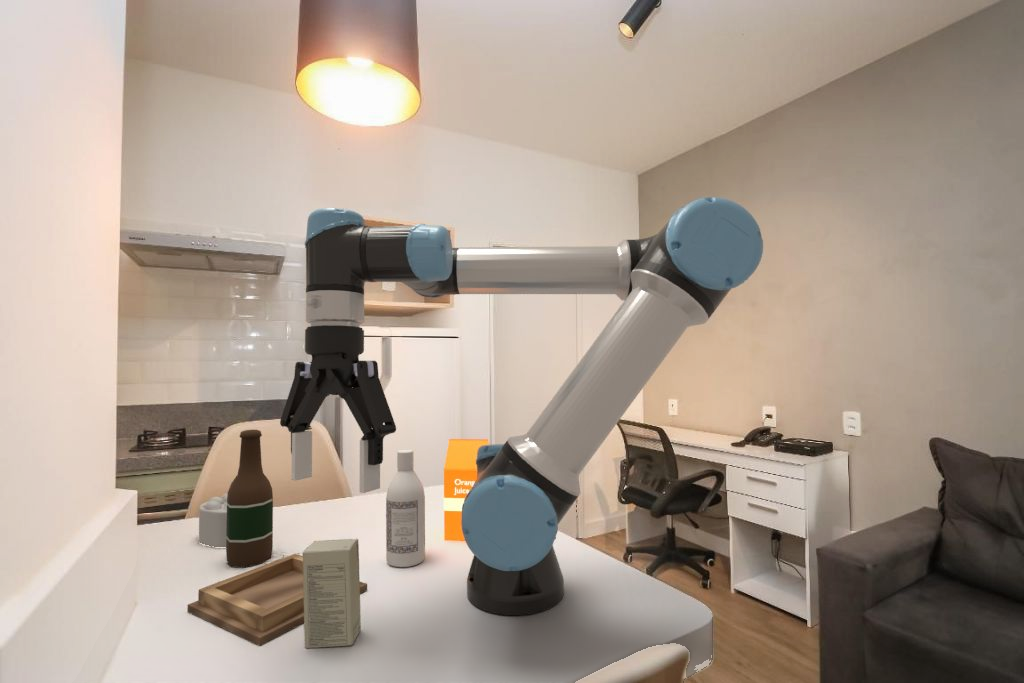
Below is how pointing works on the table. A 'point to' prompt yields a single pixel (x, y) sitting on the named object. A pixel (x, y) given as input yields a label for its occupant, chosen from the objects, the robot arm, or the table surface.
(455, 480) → the orange juice
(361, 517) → the table surface
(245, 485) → the beer bottle
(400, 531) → the bath foam
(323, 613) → the skincare box
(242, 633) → the wooden tray
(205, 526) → the lumpy-topped squat cylinder
